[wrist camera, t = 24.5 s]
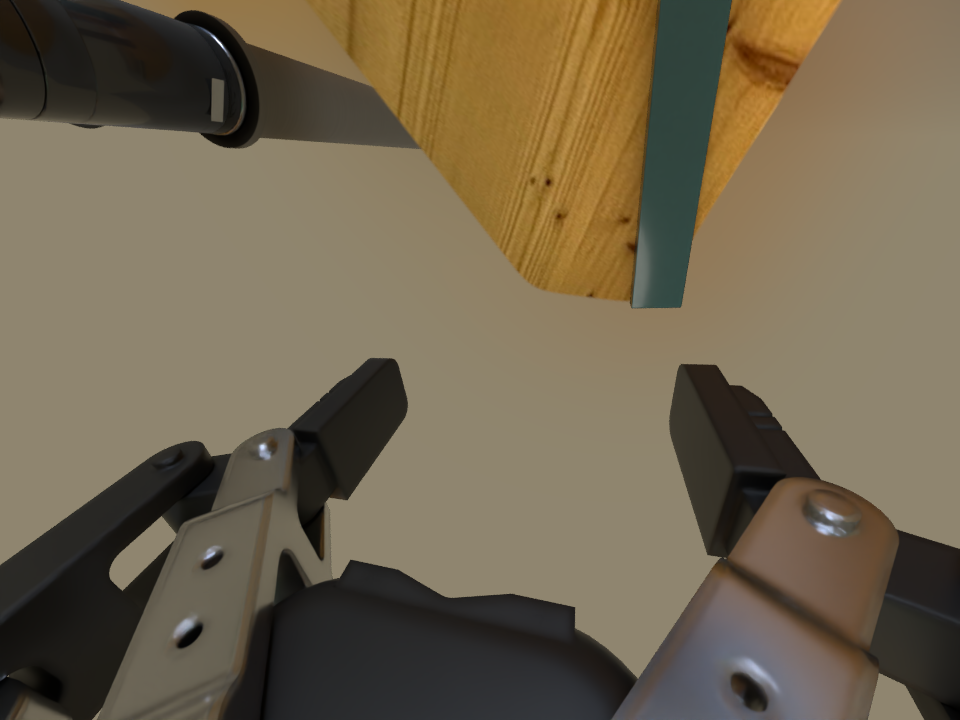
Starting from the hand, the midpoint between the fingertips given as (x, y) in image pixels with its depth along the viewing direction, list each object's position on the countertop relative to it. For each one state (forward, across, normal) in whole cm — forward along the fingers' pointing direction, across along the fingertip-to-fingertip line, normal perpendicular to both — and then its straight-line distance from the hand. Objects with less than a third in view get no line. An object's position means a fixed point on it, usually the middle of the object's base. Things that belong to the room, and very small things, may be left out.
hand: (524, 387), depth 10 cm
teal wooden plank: (+28, +8, +4) cm, 30 cm away
